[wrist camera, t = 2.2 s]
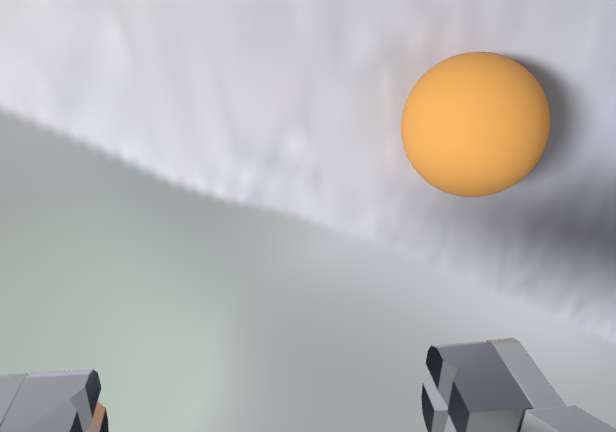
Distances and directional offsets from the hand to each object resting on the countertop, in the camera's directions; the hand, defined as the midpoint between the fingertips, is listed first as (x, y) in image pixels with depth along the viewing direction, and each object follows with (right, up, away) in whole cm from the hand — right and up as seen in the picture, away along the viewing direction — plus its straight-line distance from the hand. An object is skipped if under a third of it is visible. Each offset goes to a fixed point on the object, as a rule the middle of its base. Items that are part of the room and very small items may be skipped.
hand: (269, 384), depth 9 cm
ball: (+8, +7, +14) cm, 17 cm away
